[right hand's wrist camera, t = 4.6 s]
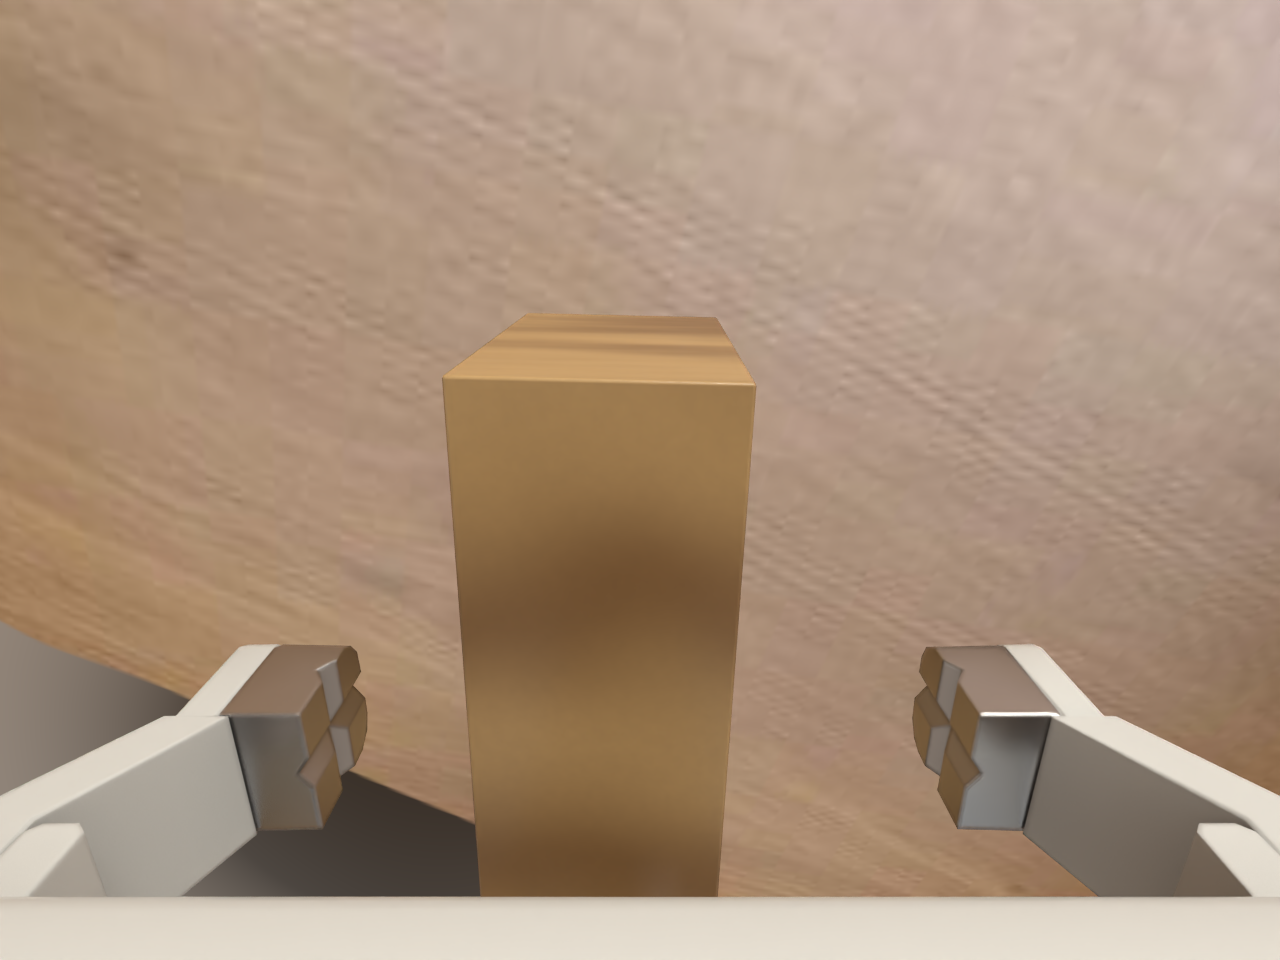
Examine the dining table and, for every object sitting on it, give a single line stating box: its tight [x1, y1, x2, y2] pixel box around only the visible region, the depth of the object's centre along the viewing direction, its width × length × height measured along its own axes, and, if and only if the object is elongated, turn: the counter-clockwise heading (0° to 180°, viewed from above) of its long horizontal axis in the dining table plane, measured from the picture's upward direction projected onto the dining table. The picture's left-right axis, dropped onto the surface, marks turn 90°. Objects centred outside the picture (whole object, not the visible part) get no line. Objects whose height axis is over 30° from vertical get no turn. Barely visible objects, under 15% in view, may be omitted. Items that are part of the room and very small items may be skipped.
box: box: [442, 313, 756, 897], centre depth 22 cm, size 23×6×10 cm, turn 179°
